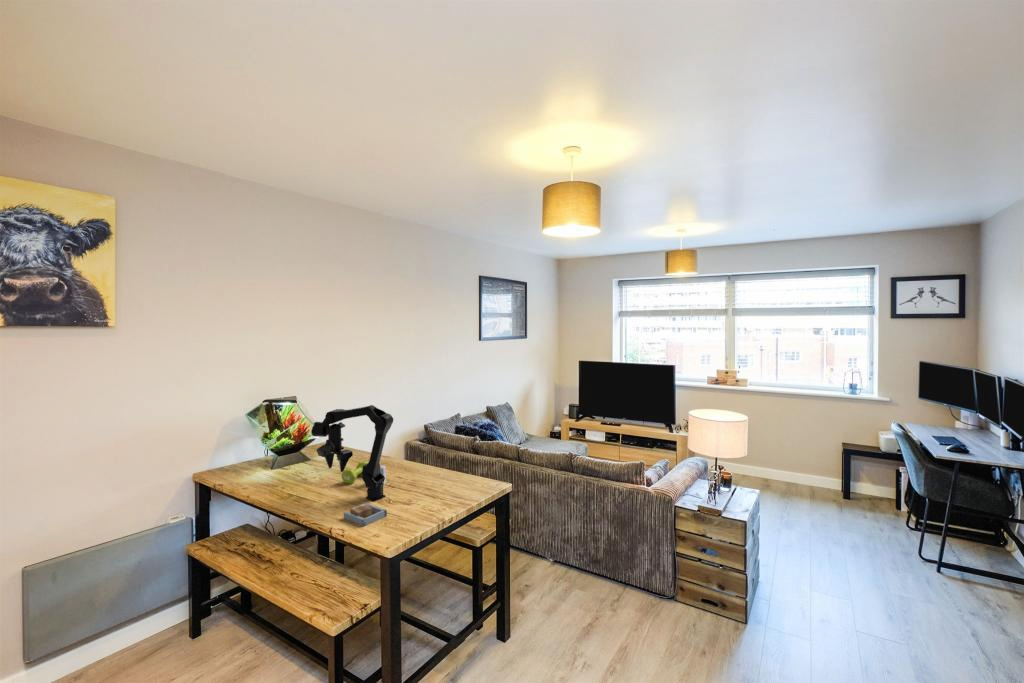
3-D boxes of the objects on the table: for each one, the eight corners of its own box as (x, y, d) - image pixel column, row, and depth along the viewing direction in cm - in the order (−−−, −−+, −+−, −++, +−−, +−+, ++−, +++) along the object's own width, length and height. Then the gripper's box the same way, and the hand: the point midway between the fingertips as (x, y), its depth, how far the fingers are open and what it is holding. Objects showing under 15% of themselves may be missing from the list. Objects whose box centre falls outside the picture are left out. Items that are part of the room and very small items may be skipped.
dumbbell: (353, 485, 230) (353, 471, 230) (339, 484, 232) (339, 469, 232) (372, 474, 246) (372, 461, 245) (359, 473, 248) (359, 460, 248)
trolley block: (363, 512, 197) (363, 503, 197) (372, 517, 192) (371, 507, 192) (350, 517, 193) (350, 507, 193) (358, 522, 188) (358, 512, 188)
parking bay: (366, 508, 201) (366, 503, 201) (386, 515, 193) (386, 510, 193) (343, 518, 192) (343, 512, 191) (364, 526, 184) (363, 520, 184)
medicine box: (386, 482, 233) (385, 465, 233) (384, 485, 229) (383, 468, 229) (370, 482, 233) (369, 465, 233) (368, 485, 229) (367, 468, 228)
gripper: (307, 438, 214) (308, 471, 215) (331, 443, 204) (332, 478, 204) (329, 433, 224) (330, 464, 224) (352, 438, 213) (354, 471, 214)
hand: (336, 469), depth 216 cm, fingers open, 9 cm apart
